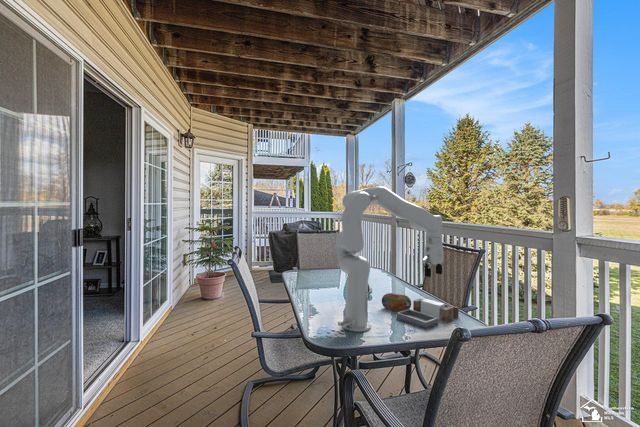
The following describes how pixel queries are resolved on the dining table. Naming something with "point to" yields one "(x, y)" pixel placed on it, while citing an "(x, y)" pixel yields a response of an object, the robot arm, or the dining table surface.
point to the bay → (447, 311)
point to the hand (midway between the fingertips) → (433, 275)
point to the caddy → (432, 308)
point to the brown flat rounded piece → (396, 302)
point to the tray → (417, 318)
